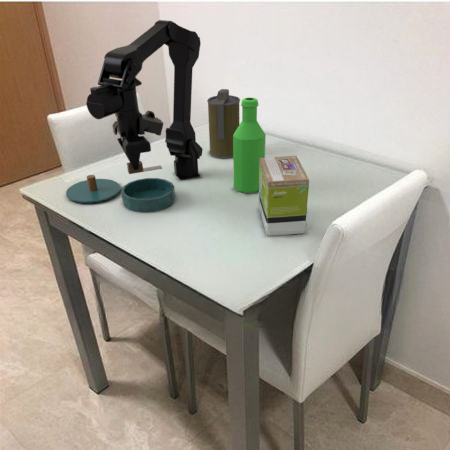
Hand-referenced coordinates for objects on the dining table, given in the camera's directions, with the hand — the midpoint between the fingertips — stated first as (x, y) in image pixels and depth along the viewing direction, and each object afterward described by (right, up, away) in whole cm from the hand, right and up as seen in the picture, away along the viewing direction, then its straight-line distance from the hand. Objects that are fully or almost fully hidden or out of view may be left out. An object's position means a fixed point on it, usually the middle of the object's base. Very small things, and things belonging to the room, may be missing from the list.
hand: (135, 168), depth 132 cm
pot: (+3, -7, +7) cm, 11 cm away
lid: (-14, -4, +12) cm, 19 cm away
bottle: (+31, -3, +13) cm, 34 cm away
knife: (+2, 0, +1) cm, 3 cm away
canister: (+24, +14, +35) cm, 45 cm away
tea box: (+38, -15, -4) cm, 41 cm away
